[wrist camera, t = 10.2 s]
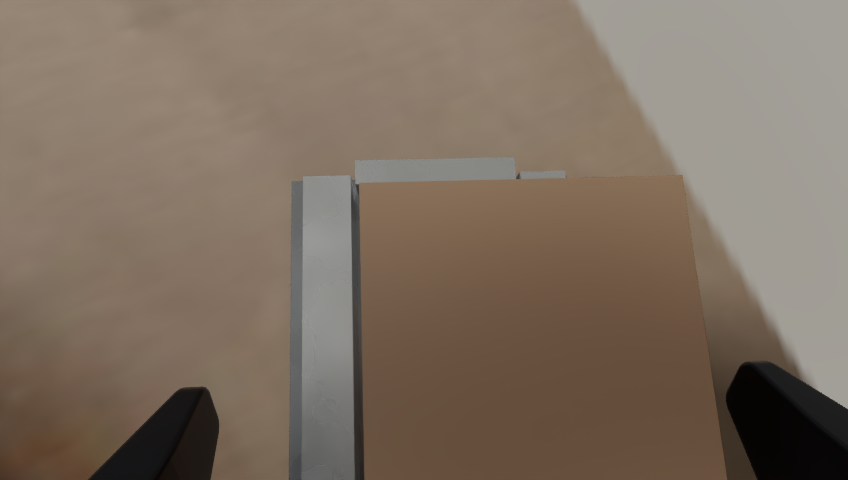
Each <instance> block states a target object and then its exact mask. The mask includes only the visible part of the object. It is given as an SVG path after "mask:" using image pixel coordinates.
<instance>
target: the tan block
mask: <svg viewBox="0 0 848 480" xmlns="http://www.w3.org/2000/svg"><path fill="white" fill-rule="evenodd" d="M359 209H360V264H361V320H362V376H363V431H364V480H727V474H726V467H725V460H724V453H723V447H722V440H721V433H720V426H719V420H718V413H717V406H716V399H715V393H714V386H713V379H712V372H711V366H710V359H709V352H708V345H707V339H706V332H705V325H704V318H703V312H702V305H701V298H700V291H699V285H698V278H697V271H696V264H695V258H694V251H693V244H692V237H691V230H690V224H689V217H688V210H687V203H686V197H685V190H684V183H683V176H682V175H672V176H629V177H586V178H544V179H501V180H458V181H416V182H373V183H359Z"/></svg>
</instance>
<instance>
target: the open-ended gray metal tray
mask: <svg viewBox="0 0 848 480" xmlns="http://www.w3.org/2000/svg"><path fill="white" fill-rule="evenodd" d="M544 178H566V174H565V171H531V172H520V173H519V174H518V175H517V176H516V171H515V158H514V157H505V158H454V159H404V160H355V180H352V179H351V175H347V176H303V181H292V218H291V320H290V422H289V480H364V431H363V376H362V320H361V264H360V209H359V183H373V182H416V181H458V180H501V179H544Z"/></svg>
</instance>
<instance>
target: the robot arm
mask: <svg viewBox="0 0 848 480" xmlns="http://www.w3.org/2000/svg"><path fill="white" fill-rule="evenodd" d="M726 403H727V407H728V410H729V412H730V415H731V417H732V420H733V422H734V424H735V427H736V429H737V432H738V434H739V436H740V439H741V441H742V444H743V446H744V449H745V451H746V453H747V456H748V458H749V461H750V463H751V465H752V468H753V470H754V473H755V475H756V477H757V480H848V409H847V408H845V407H843V406H842V405H840V404H838V403H837V402H835V401H834V400H832V399H830V398H829V397H827V396H825V395H824V394H822V393H820V392H819V391H817V390H816V389H814V388H812V387H811V386H809V385H808V384H806V383H804V382H803V381H801V380H799V379H798V378H796V377H795V376H793V375H791V374H790V373H788V372H786V371H785V370H783V369H782V368H780V367H778V366H777V365H775V364H773V363H771V362H768V361H752V362H745V363H743V364H742V365H741V366H740V367H739V369H738V371H737V373H736V375H735V377H734V379H733V381H732V382H731V384H730V386H729V388H728V390H727V393H726ZM218 433H219V419H218V416H217V413H216V410H215V407H214V404H213V401H212V398H211V395H210V392H209V390H208V389H207V388H206V387H185V388H181V389H179V390H178V391H176V392H175V393H174V394H173V395H172V396H171V397H170V398H169V399H168V400H167V401H166V402H165V403H164V404H163V405H162V406H161V407H160V408H159V409H158V410H157V411H156V412H155V413H154V414H153V415H152V416H151V417H150V418H149V419H148V420H147V421H146V422H145V423H144V424H143V425H142V426H141V427H140V428H139V429H138V430H137V431H136V432H135V433H134V434H133V435H132V436H131V437H130V438H129V439H128V440H127V441H126V442H125V443H124V444H123V445H122V446H121V447H120V448H119V449H118V450H117V451H116V452H115V453H114V454H113V455H112V456H111V457H110V458H109V459H108V460H107V461H106V462H105V463H104V464H103V465H102V466H101V467H100V468H99V469H98V470H97V471H96V472H95V473H94V474H93V475H92V476H91V477H90V478H89V479H88V480H210V479H211V474H212V468H213V462H214V456H215V451H216V445H217V439H218Z"/></svg>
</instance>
